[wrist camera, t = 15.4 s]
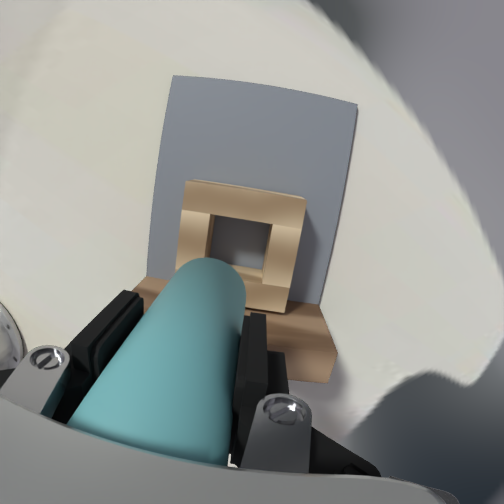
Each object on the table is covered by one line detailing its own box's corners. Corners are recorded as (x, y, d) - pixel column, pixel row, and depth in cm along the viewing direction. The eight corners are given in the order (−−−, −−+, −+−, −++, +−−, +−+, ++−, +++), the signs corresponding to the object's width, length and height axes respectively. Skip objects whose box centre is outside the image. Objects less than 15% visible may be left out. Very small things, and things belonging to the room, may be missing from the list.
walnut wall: (311, 329, 34) (327, 383, 24) (145, 302, 33) (110, 346, 24) (318, 304, 33) (337, 353, 24) (146, 276, 32) (108, 314, 23)
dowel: (241, 333, 16) (204, 649, 2) (168, 321, 15) (33, 595, 2) (251, 263, 15) (212, 651, 1) (172, 252, 15) (-58, 532, 1)
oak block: (281, 295, 32) (284, 312, 28) (182, 279, 32) (173, 294, 28) (301, 196, 30) (307, 200, 26) (195, 179, 30) (185, 181, 26)
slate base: (311, 327, 34) (311, 329, 34) (146, 300, 34) (145, 302, 33) (356, 105, 28) (357, 104, 28) (174, 76, 28) (172, 75, 27)
